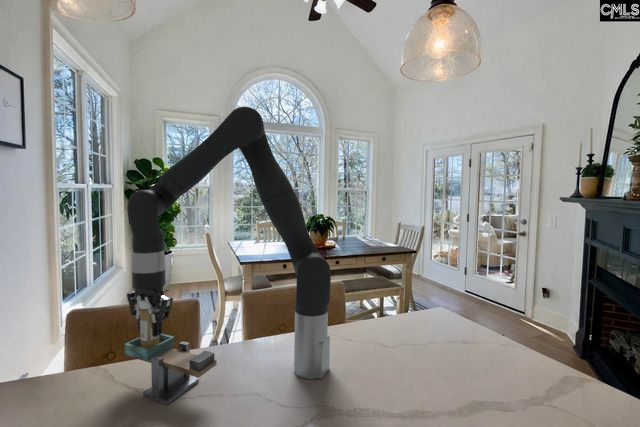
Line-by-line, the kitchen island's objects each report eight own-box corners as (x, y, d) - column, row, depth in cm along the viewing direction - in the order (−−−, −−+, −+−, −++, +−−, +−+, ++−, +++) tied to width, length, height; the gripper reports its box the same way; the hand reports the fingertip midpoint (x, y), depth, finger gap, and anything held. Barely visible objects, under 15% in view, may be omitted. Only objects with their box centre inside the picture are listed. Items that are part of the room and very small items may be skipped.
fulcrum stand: (198, 382, 84) (198, 344, 83) (167, 405, 74) (166, 363, 74) (175, 375, 87) (175, 339, 86) (142, 396, 78) (142, 356, 77)
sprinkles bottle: (160, 351, 82) (160, 299, 81) (140, 355, 80) (140, 303, 79) (158, 343, 86) (158, 294, 85) (139, 348, 84) (138, 297, 83)
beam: (219, 362, 80) (219, 348, 79) (195, 380, 72) (195, 364, 72) (152, 344, 88) (152, 331, 88) (124, 358, 81) (123, 343, 80)
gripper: (181, 268, 82) (182, 333, 83) (142, 262, 88) (143, 323, 89) (157, 274, 75) (157, 345, 76) (115, 268, 81) (116, 334, 82)
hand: (149, 333), depth 83 cm, fingers closed on sprinkles bottle, 4 cm apart
